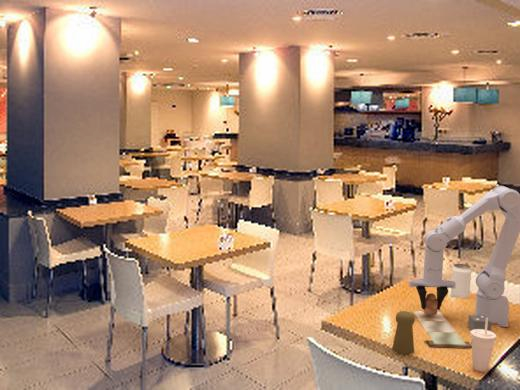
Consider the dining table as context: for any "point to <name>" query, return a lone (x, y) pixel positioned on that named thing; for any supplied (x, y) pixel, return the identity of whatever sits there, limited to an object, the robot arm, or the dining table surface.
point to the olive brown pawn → (404, 333)
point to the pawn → (431, 304)
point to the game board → (435, 327)
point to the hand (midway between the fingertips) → (430, 308)
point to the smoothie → (482, 347)
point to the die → (478, 322)
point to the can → (461, 280)
